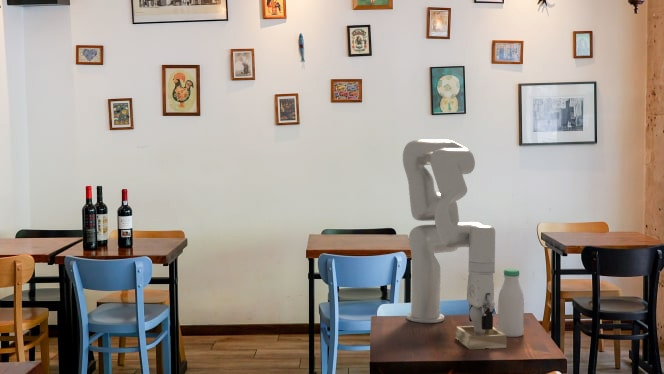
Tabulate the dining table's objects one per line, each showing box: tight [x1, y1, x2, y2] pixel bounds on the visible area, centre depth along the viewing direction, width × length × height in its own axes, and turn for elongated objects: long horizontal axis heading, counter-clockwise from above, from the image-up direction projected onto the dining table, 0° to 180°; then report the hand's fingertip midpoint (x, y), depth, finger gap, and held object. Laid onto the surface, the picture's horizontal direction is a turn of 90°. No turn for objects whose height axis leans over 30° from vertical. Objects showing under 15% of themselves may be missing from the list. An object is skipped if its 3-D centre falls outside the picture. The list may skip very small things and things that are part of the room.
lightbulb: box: [468, 306, 487, 336], centre depth 212 cm, size 6×6×11 cm
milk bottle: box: [497, 268, 525, 338], centre depth 221 cm, size 8×8×20 cm
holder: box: [455, 325, 508, 350], centre depth 212 cm, size 12×11×4 cm
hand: (480, 325), depth 212 cm, fingers open, 9 cm apart
